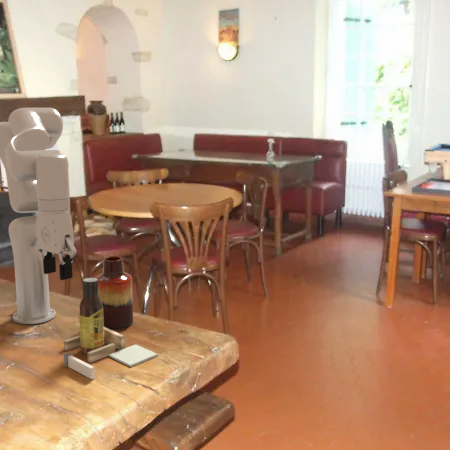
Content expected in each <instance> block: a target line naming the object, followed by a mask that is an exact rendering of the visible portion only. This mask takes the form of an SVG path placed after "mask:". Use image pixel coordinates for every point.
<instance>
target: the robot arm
mask: <svg viewBox="0 0 450 450" xmlns="http://www.w3.org/2000/svg"><path fill="white" fill-rule="evenodd" d="M63 129H64V123H63V118H62V115H61V114H60V112H59V111H58V110H57V109H55V108H53V107H21V108H17V109H15V110H13V111H12V112H11V113H10V114H9V116H8V120H7V122H0V161H1V163H2V164H3V168H4V169H5V170H4V171H5V176H6V177H5V178H6V184H7V190H8V191H7V192H8V198H9V204H10V206H11V209H12V210H13V211H14V212H15V213H18V214H27V213H37V214H36V215H31V216H21V217H18V218H15V219H13V220H12V221H11V222H10V224H9V226H8V235H9V240H10V245H11V248H12V249H11V250H12V255H13V265H14V266H13V267H14V277H15V278H14V279H15V292H16V301H15V302H14V305H15V306H16V308H17V311H15V312H14V313H13V314H12V320H13V321H14V322H15V323H17V324H20V325H21V324H22V325H37V324H43V323H46V322H49V321H51V320H52V319H54V318H55V317H56V315H57V313H56V310H55V309H54V308H52V307H51V305H50V304H51V303H50V301H51V300H50V287H49V275H50V274H53V273H56V272H57V263H56V256H54V255H58V258H59V262H60V263H59V264H58V267H59V268H58V269H59V279H60V281H65V280H69V279H73V263H74V259H75V256H76V254H77V252H78V250H77V248H76V246H75V235H74V228H73V220H72V215H71V199H70V198H71V196H70V195H71V194H70V175H69V173H70V172H69V167H70V166H69V159H68V157H67V156H66V154H65V153H64V152H63V151H62V150H60V149H59V150H58V149H52V148H54V147H55V145H56V144H57V142H58V140H59V139H60V138H61V136H62V133H63ZM38 249H39V250H38ZM64 254H65V256H64Z"/></svg>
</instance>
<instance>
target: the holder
mask: <svg viewBox="0 0 450 450" xmlns="http://www.w3.org/2000/svg"><path fill="white" fill-rule="evenodd" d="M125 336H126V335H124V334H121V333H119V332H117V331H116V330H110V329H108V328H106V327H104V344H105V345H103V347H101V348H98V349H95V350H93V351H90V352H87V354H86V355H87V362H88V363H94V362H97V361H99V360H101V359H104V358H107V357H109V354H112V353H114V352H116V350H117V351H120V350H122V349H125V348H126V345H125V344H126V343H125V342H126V340H125V339H126V338H125ZM79 347H81V345H80V334H79V335H77V336H74V337H70V338H68V339H65V340H63V348H64V349H63V350H65V351H70V350H73V349H75V348H79Z"/></svg>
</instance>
